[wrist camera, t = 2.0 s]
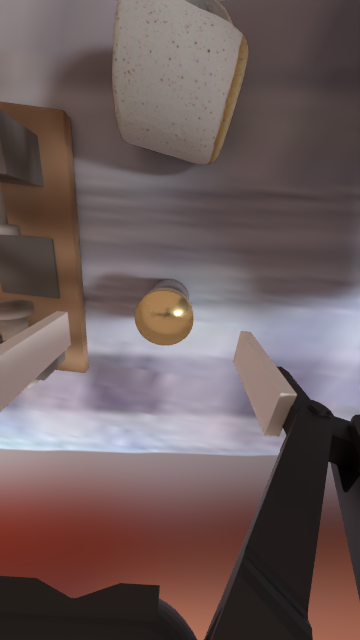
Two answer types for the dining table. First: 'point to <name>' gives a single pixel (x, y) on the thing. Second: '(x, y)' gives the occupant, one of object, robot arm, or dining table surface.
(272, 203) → the dining table surface
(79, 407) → the dining table surface
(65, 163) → the shaft bench
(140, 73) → the ceramic mug
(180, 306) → the knob
